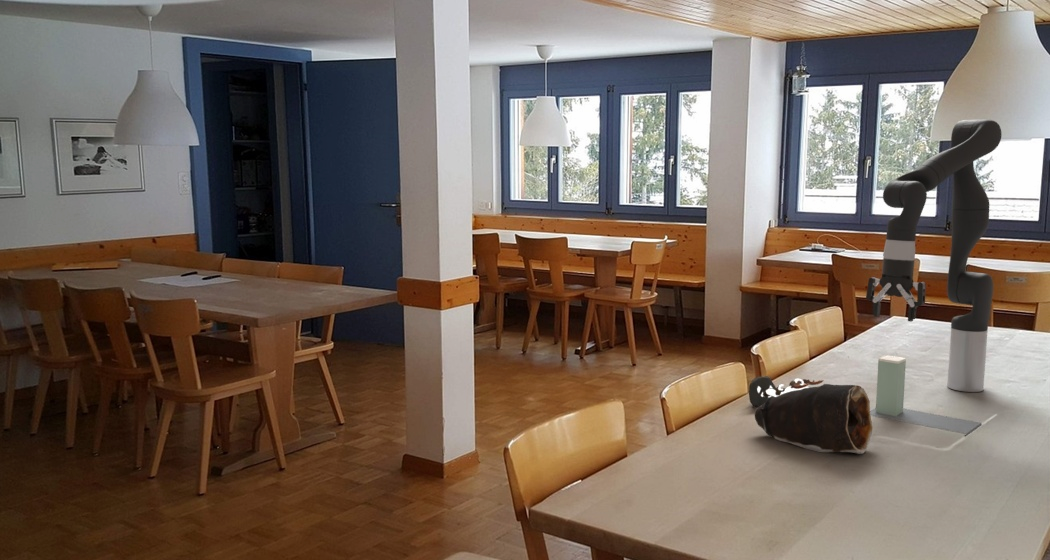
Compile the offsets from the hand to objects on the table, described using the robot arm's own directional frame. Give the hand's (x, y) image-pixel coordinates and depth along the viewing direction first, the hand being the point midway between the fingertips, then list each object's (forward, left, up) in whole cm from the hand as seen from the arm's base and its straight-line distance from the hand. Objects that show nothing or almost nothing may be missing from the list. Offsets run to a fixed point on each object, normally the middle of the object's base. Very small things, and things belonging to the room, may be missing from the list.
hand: (893, 319), depth 227 cm
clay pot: (+46, -1, -23) cm, 52 cm away
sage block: (+10, +4, -22) cm, 25 cm away
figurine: (+24, -18, -23) cm, 38 cm away
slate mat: (+10, +12, -23) cm, 28 cm away
